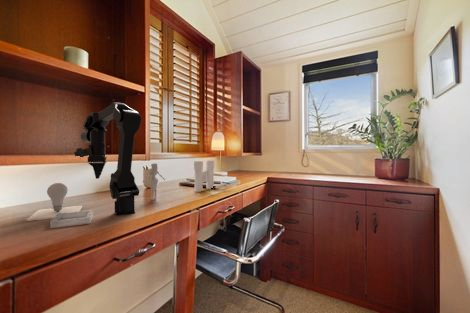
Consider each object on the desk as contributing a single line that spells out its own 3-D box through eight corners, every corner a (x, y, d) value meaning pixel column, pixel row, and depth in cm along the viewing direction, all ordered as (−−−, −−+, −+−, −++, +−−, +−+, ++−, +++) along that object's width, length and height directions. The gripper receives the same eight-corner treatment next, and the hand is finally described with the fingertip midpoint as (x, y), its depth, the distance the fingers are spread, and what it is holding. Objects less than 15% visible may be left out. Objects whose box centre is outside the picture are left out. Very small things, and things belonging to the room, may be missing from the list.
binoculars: (209, 187, 147) (209, 160, 146) (215, 188, 144) (216, 160, 143) (192, 191, 132) (192, 161, 131) (199, 192, 129) (199, 161, 128)
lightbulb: (45, 212, 84) (45, 183, 84) (65, 208, 89) (64, 181, 89) (49, 214, 80) (49, 184, 80) (69, 211, 85) (69, 182, 85)
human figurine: (162, 197, 114) (162, 162, 113) (167, 198, 111) (167, 163, 111) (140, 201, 104) (140, 163, 104) (144, 203, 102) (144, 164, 101)
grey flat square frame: (93, 215, 83) (93, 209, 83) (90, 223, 74) (90, 217, 74) (58, 219, 78) (58, 213, 78) (50, 228, 69) (50, 222, 69)
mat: (82, 207, 94) (82, 205, 94) (76, 215, 82) (76, 214, 82) (39, 211, 88) (39, 209, 88) (26, 221, 75) (26, 219, 75)
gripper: (78, 142, 103) (79, 176, 103) (72, 141, 87) (72, 181, 87) (106, 143, 108) (106, 175, 109) (105, 142, 92) (105, 179, 92)
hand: (98, 177), depth 99 cm, fingers open, 9 cm apart
